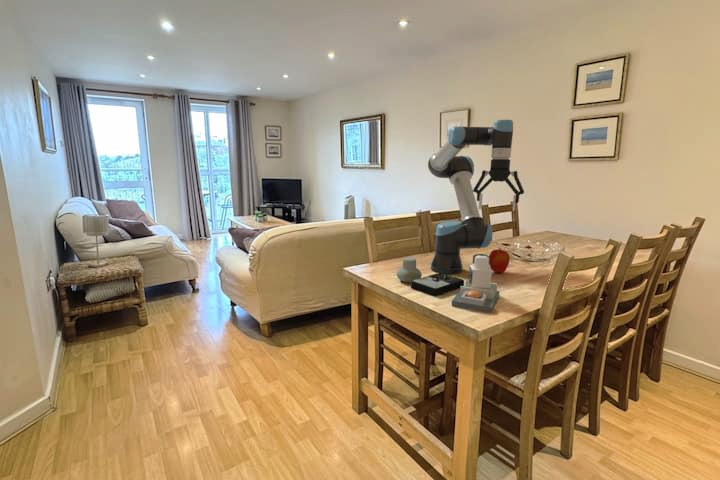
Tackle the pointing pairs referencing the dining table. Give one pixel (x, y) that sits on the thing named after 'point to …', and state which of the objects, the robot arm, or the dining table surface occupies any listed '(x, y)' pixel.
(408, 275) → the air freshener
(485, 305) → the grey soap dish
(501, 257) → the apple
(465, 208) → the robot arm
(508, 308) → the dining table surface
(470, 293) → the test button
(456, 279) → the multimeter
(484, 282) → the medicine bottle
